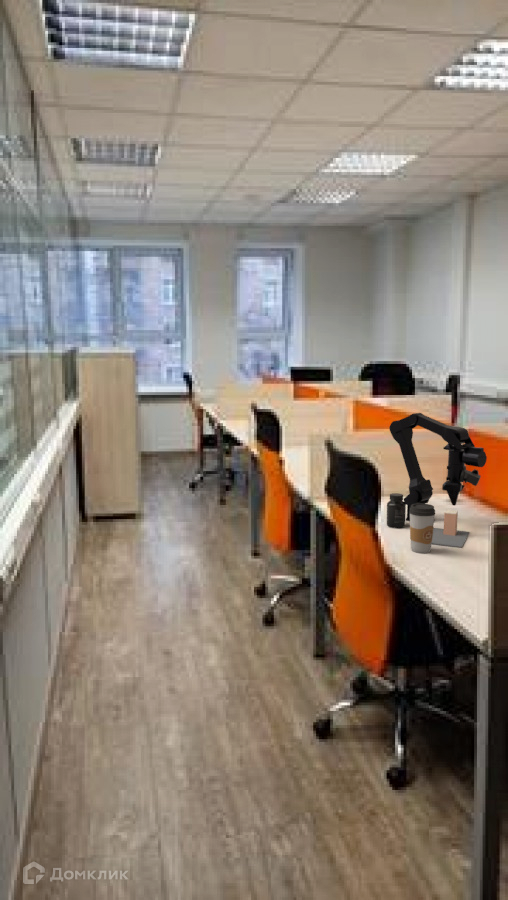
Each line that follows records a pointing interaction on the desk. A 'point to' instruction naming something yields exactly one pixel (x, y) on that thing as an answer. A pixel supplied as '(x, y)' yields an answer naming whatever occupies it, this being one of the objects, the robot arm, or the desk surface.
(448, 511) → the block
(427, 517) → the coffee cup
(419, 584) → the desk surface
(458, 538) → the mat
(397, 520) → the supplement bottle
